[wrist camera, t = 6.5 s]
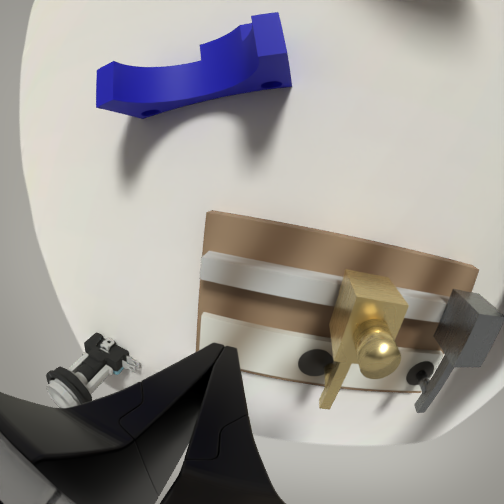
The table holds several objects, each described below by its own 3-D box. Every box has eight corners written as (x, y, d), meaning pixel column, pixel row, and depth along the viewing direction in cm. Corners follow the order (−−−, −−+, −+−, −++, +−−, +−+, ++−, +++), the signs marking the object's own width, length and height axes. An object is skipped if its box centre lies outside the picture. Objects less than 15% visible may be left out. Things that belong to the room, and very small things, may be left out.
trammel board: (472, 265, 17) (489, 276, 14) (417, 385, 21) (424, 403, 18) (211, 210, 20) (198, 215, 17) (200, 351, 24) (189, 369, 21)
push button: (142, 345, 25) (86, 407, 16) (142, 378, 27) (97, 437, 17) (93, 320, 26) (34, 368, 16) (97, 354, 27) (48, 402, 18)
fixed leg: (473, 289, 16) (505, 317, 11) (424, 388, 19) (438, 425, 14) (447, 283, 16) (479, 313, 11) (398, 388, 19) (410, 427, 14)
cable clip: (283, 38, 15) (274, -5, 10) (292, 87, 16) (287, 53, 11) (141, 73, 18) (98, 53, 12) (143, 119, 19) (96, 107, 13)
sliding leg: (384, 272, 16) (425, 329, 10) (340, 385, 20) (346, 457, 13) (343, 264, 17) (366, 321, 10) (306, 381, 20) (301, 453, 13)
